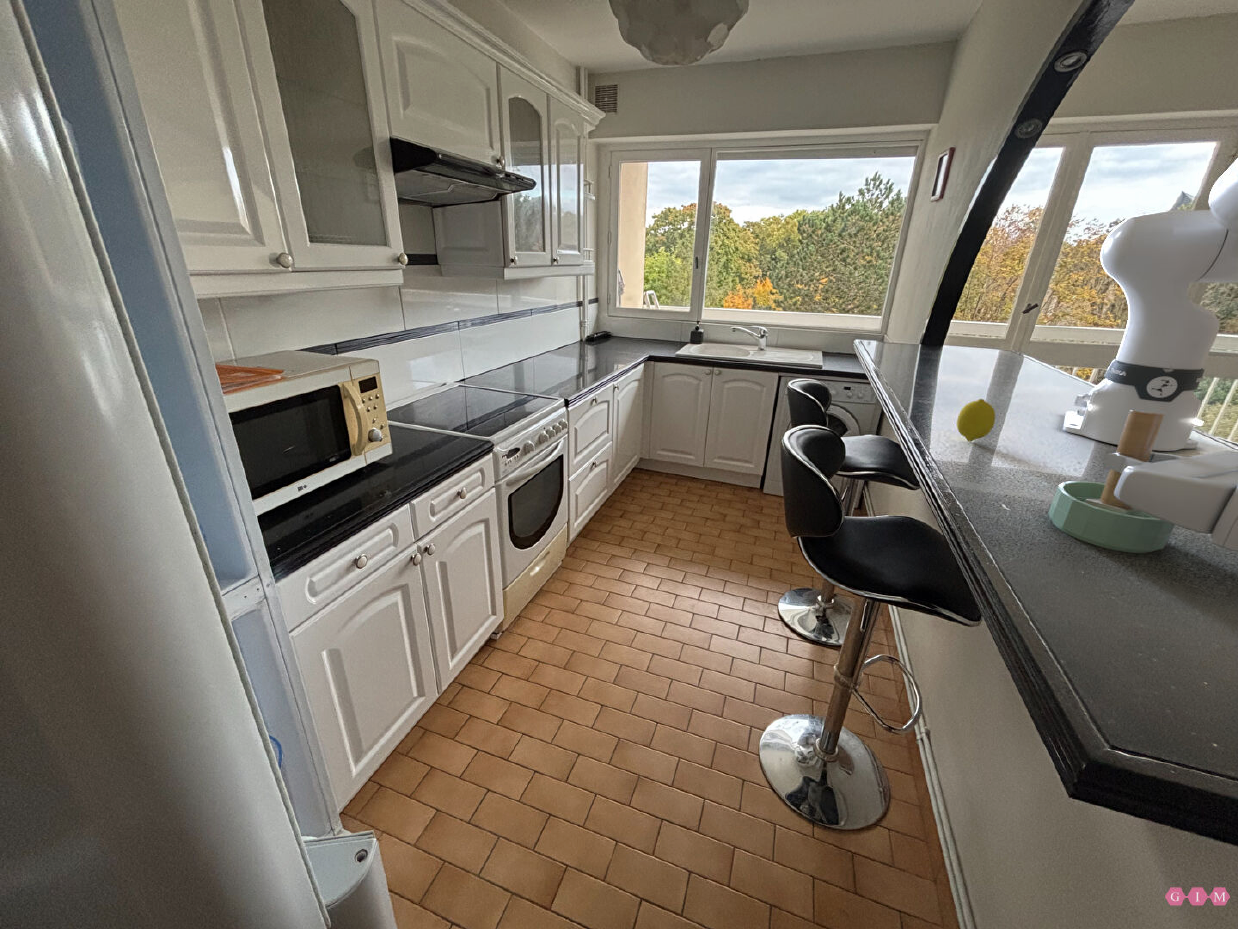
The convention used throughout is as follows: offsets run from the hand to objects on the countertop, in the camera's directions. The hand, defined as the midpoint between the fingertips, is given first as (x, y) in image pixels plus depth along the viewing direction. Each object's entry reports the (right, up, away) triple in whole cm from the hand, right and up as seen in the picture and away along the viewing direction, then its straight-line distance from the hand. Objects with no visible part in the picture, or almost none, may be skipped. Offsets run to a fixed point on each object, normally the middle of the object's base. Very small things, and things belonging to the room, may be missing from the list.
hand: (1120, 457), depth 59 cm
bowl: (0, -9, +2) cm, 9 cm away
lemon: (+6, +3, +34) cm, 34 cm away
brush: (0, -9, +1) cm, 9 cm away
